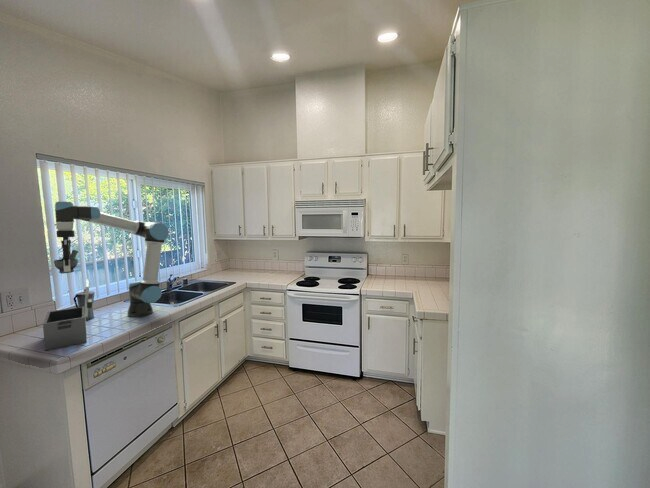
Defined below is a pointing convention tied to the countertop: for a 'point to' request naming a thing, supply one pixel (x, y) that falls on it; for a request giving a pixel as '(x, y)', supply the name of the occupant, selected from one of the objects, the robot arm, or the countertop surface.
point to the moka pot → (82, 302)
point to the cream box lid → (87, 301)
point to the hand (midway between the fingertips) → (67, 270)
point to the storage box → (64, 328)
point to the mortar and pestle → (73, 263)
